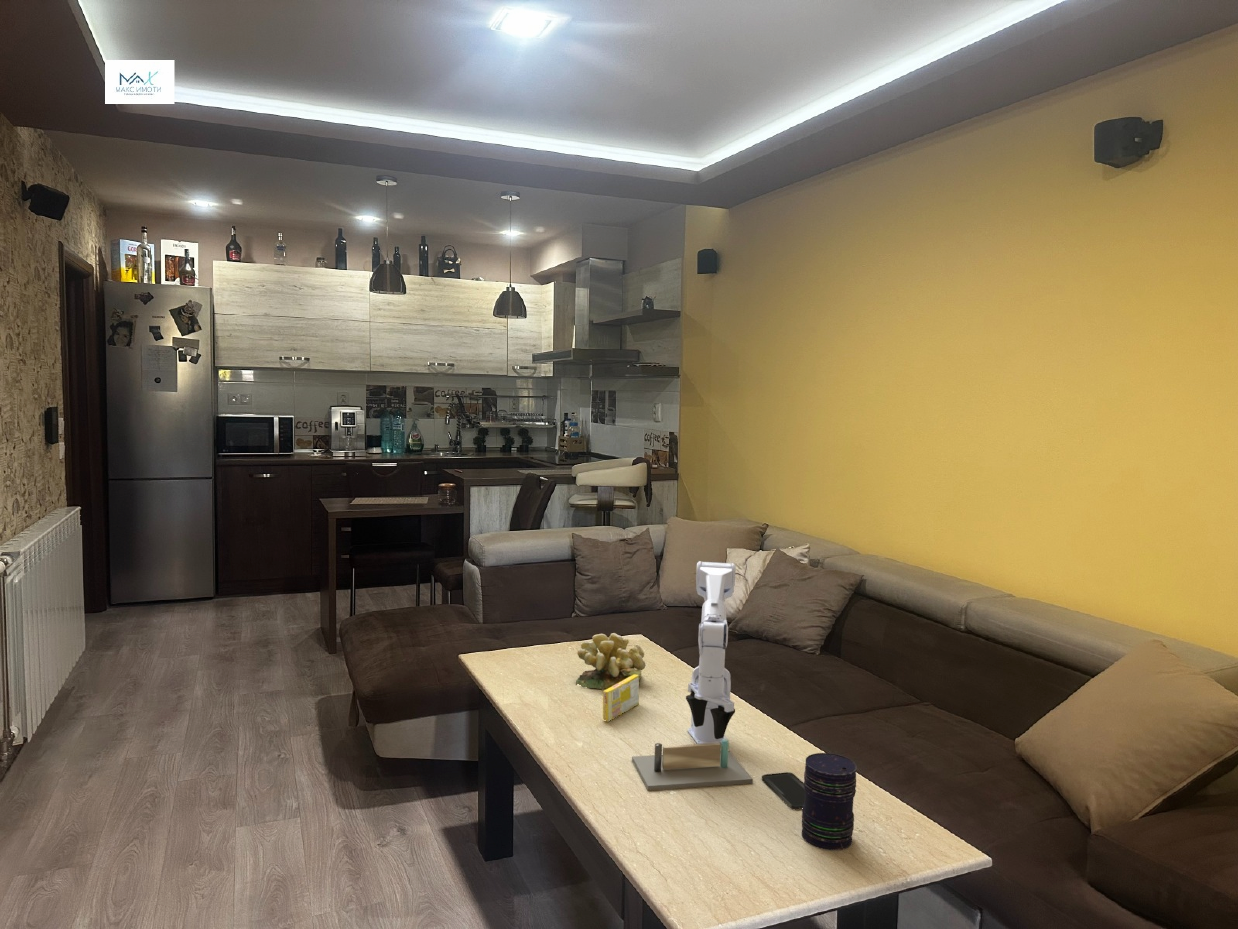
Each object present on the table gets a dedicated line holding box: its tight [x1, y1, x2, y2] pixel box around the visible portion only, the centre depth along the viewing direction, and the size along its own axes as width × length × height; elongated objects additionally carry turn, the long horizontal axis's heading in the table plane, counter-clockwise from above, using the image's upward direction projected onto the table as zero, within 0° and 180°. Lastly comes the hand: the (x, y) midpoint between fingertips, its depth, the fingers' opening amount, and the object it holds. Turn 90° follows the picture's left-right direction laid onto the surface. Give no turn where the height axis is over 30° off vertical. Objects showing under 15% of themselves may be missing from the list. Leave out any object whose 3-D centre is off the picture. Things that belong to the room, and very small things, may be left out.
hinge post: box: [654, 742, 663, 772], centre depth 188 cm, size 2×2×7 cm
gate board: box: [631, 750, 754, 791], centre depth 191 cm, size 15×24×1 cm, turn 102°
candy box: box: [602, 674, 640, 722], centre depth 225 cm, size 16×2×8 cm, turn 149°
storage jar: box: [801, 752, 857, 852], centre depth 163 cm, size 10×10×15 cm
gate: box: [662, 743, 721, 770], centre depth 190 cm, size 1×13×5 cm, turn 102°
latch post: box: [720, 739, 729, 768], centre depth 192 cm, size 2×2×7 cm
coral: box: [575, 632, 647, 690], centre depth 250 cm, size 19×23×15 cm
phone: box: [761, 771, 805, 811], centre depth 183 cm, size 8×1×15 cm
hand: (708, 731), depth 192 cm, fingers open, 7 cm apart
